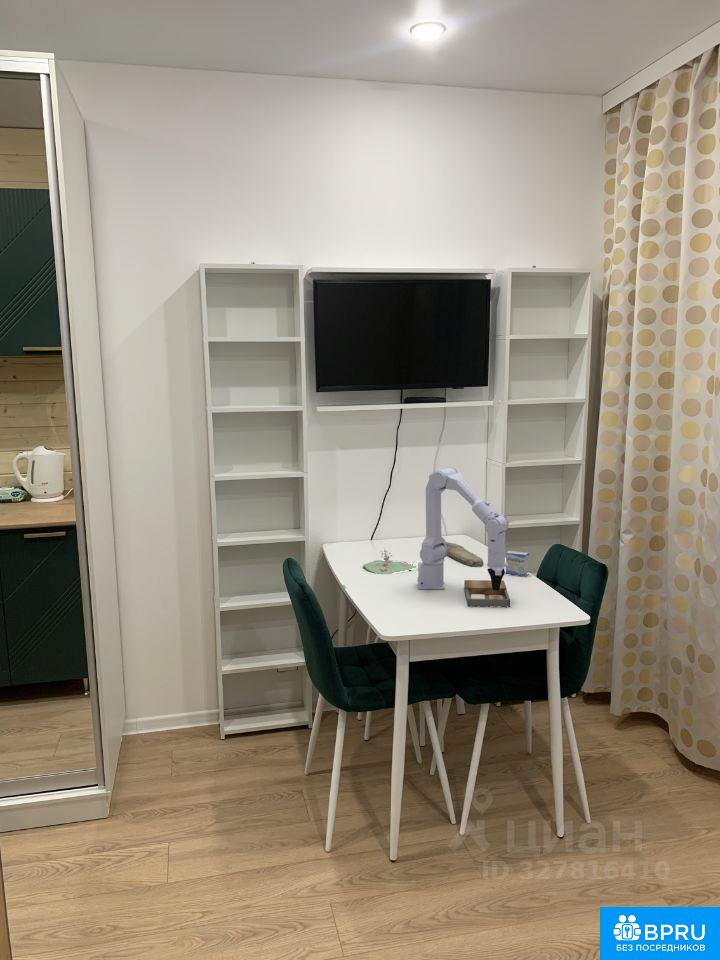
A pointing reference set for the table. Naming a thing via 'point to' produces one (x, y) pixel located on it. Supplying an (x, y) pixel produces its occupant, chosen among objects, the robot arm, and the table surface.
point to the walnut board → (483, 587)
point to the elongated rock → (463, 555)
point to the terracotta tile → (495, 597)
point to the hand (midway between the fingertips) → (495, 589)
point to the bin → (488, 601)
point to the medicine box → (517, 563)
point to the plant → (387, 566)
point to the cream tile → (477, 596)
